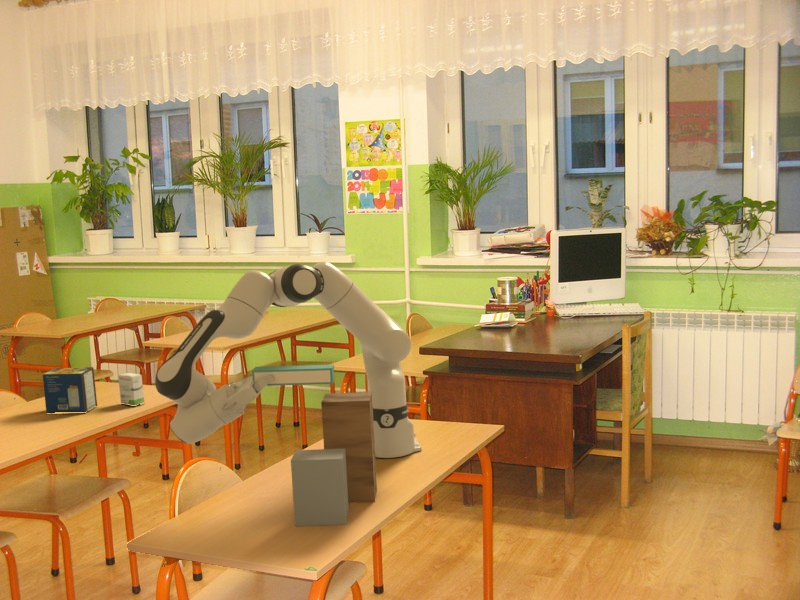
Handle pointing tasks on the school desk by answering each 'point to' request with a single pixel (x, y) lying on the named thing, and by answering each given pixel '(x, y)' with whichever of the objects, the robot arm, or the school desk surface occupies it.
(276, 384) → the book
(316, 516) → the step
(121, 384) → the ink box
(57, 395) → the protein box
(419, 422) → the school desk surface
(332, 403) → the bookcase block
